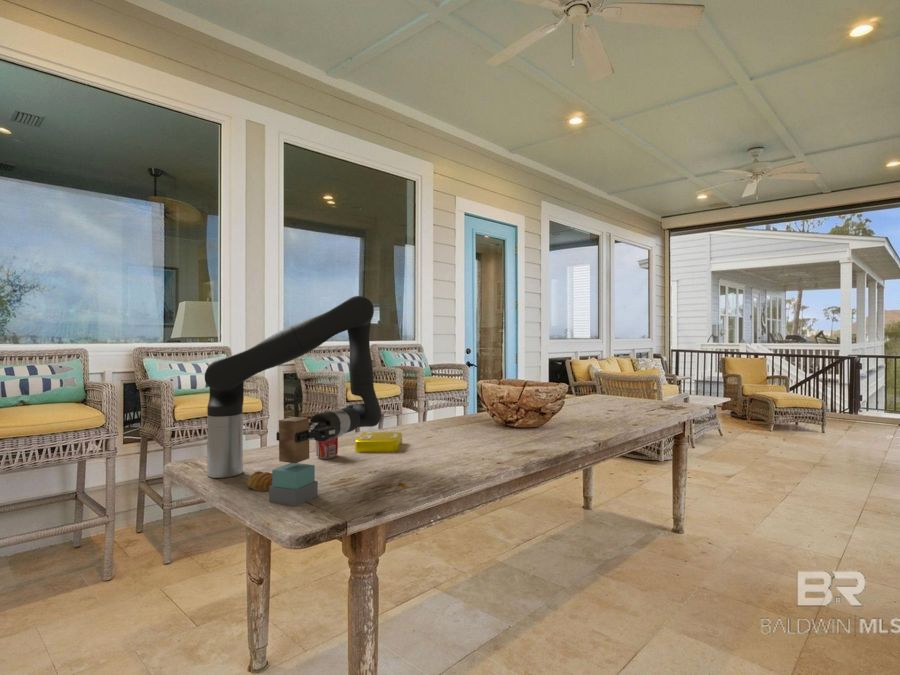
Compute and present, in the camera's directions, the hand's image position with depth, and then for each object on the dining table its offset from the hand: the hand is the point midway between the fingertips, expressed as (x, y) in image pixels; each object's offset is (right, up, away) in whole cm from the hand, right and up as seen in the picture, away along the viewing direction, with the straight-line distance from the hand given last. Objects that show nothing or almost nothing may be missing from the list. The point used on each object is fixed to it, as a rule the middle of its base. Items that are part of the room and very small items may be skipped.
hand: (286, 437), depth 117 cm
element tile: (+14, -16, +56) cm, 60 cm away
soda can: (-1, -15, +43) cm, 46 cm away
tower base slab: (+1, -16, +2) cm, 16 cm away
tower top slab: (+1, -12, +2) cm, 12 cm away
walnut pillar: (+1, -6, +2) cm, 7 cm away
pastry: (-10, -16, +12) cm, 22 cm away
